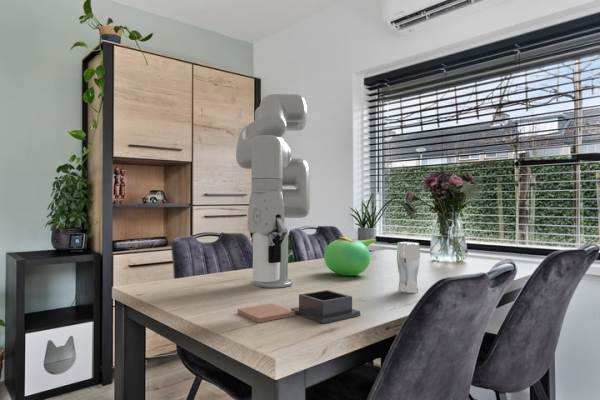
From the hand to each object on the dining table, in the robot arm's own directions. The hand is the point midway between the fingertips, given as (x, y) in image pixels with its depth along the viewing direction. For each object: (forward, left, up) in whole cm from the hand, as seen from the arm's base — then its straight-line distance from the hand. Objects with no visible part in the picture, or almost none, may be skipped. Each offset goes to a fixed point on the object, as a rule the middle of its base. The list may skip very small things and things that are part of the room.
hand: (266, 260), depth 100 cm
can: (0, 0, -5) cm, 5 cm away
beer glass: (+3, +50, -13) cm, 52 cm away
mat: (0, 0, -13) cm, 13 cm away
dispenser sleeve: (+8, +12, -13) cm, 20 cm away
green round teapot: (-29, +55, -13) cm, 64 cm away
